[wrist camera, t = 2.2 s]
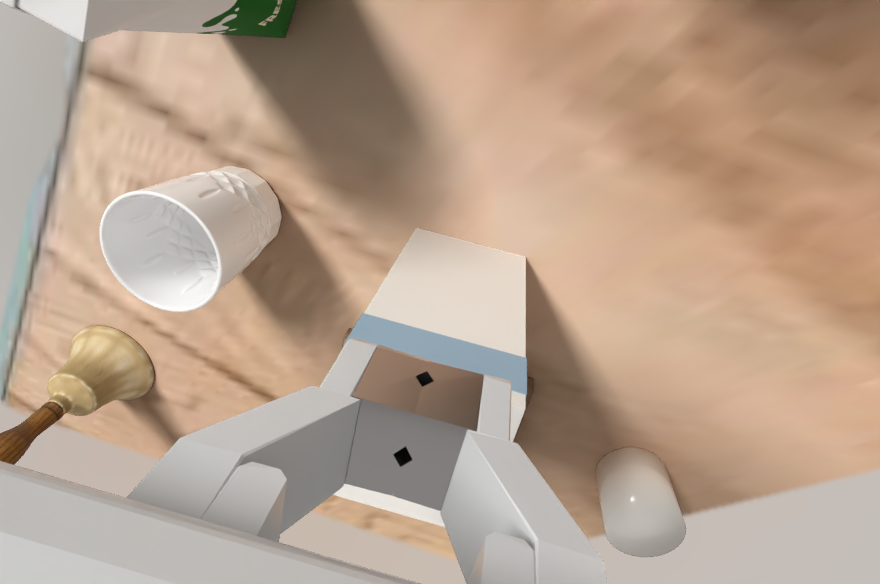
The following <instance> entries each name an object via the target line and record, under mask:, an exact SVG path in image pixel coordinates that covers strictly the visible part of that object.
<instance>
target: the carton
mask: <svg viewBox="0 0 880 584" xmlns="http://www.w3.org/2000/svg"><path fill="white" fill-rule="evenodd" d="M352 337H353V338H357V339H360V340H364V341H368V342H371V343H375V344H377V345H382V346H385V347H388V348H392V349H395V350H398V351H402V352H405V353H408V354H412V355H415V356H418V357H422V358H425V359H428V360H431V361H433V362H437V363H440V364H444V365H448V366H452V367H456V368H460V369H464V370H468V371H472V372H475V373H479V374H485V375H489V376H493V377H498V378H502V379H506V380H510V382H511V383H512V394H511V425H510V441H511V442H513V440H514V437H515V435H516V432H517V430H518V427H519V424H520V422H521V419H522V417H523V414H524V411H525V409H526V395H527V358H526V257H525V256H521V255H518V254H514V253H510V252H506V251H503V250H499V249H495V248H491V247H488V246H484V245H480V244H476V243H473V242H469V241H465V240H461V239H458V238H454V237H450V236H446V235H443V234H439V233H435V232H431V231H428V230H424V229H420V228H417V227H416V229H415V230H414V232H413V234H412V235H411V237H410V239H409V240H408V242H407V243H406V245H405V247H404V248H403V250H402V252H401V253H400V255H399V257H398V258H397V260H396V262H395V263H394V265H393V267H392V268H391V270H390V271H389V273H388V275H387V276H386V278H385V280H384V281H383V283H382V285H381V286H380V288H379V290H378V291H377V293H376V295H375V296H374V298H373V299H372V301H371V303H370V304H369V306H368V308H367V309H366V311H365V313H362V315H361V317H360V318H359V320H358V322H357V323H356V325H355V327H354V328H353V330H352V331H351V333H350V335H349V336H348V338H347V340H346V341H345V343H344V346H345V344H346V343H347V341H348V340H349V339H351V338H352ZM343 348H344V347H343ZM341 351H342V350H341ZM340 353H341V352H340ZM338 356H339V355H338ZM393 494H394V493H393ZM333 495H336V496H339V497H342V498H346V499H349V500H353V501H356V502H360V503H363V504H367V505H370V506H374V507H377V508H381V509H384V510H387V511H391V512H394V513H398V514H401V515H405V516H408V517H412V518H415V519H419V520H422V521H425V522H429V523H432V524H436V525H439V526H443V527H445V525H444V523H443V520H442V517H441V515H440V512H441V511H438V510H435V509H432V508H429V507H426V506H423V505H419V504H416V503H413V502H410V501H407V500H404V499H401V498H397V497H394V496H391V495H387V494H383V493H379V492H375V491H371V490H367V489H364V488H360V487H356V486H352V485H348V484H344V486H343V487H342V488H341V489H340V490H338V491H337V492H336V493H334V494H333Z"/></svg>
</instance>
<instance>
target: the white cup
mask: <svg viewBox="0 0 880 584" xmlns="http://www.w3.org/2000/svg"><path fill="white" fill-rule="evenodd" d="M281 219H282V216H281V211H280V206H279V201H278V198H277V196H276V195H275V193H274V192H273V191H272V189H271V188H270V186H269V185H268V183H267V182H266V181H265V180H264V179H262V178H261V177H259V176H258V175H256V174H255V173H253V172H252V171H251V170H249V169H244V168H239V167H234V166H226V167H223V168H220V169H217V170H214V171H209V172H199V173H196V174H192V175H187V176H184V177H180V178H176V179H172V180H169V181H166V182H163V183H160V184H157V185H153V186H150V187H146V188H143V189H140V190H136V191H133V192H129V193H126V194H124V195H121V196H120V197H118V198H116V199H115V200H114V201H113V202H112V203H111V204H110V205H109V206H108V207H107V209H106V210H105V212H104V214H103V216H102V219H101V224H100V243H101V248H102V252H103V255H104V257H105V260H106V262H107V264H108V266H109V268H110V269H111V271H112V273H113V274H114V275H115V277H116V278H117V279H118V281H119V282H120V283H121V284H122V285H123V286H124V287H125V288H126V289H127V290H128V291H129V292H130V293H132V294H133V295H134V296H135V297H137V298H138V299H140V300H141V301H143V302H145V303H147V304H149V305H151V306H153V307H156V308H158V309H162V310H165V311H171V312H188V311H192V310H196V309H198V308H200V307H202V306H204V305H206V304H207V303H208V302H209V301H210V300H211V299H213V298H214V297H215V296H216V295H217V294H218V293H219V292H220V291H221V290H222V289H223V288H224V287H226V286H227V285H228V284H229V283H230V282H231V281H232V280H233V279H234V278H236V277H237V276H238V275H239V274H240V273H241V272H242V271H243V270H244V269H245V268H246V267H247V266H248V265H249V264H250V263H251V262H252V261H253V260H254V259H255V258H256V257H257V256H258V255H259V254H260V252H261V251H262V250H263V249H264V248H265V247H266V246H267V245H268V244H269V243H270V242H271V241H272V240H273V239H274V238H275V237H276V236H277V235H278V231H279V227H280V223H281Z"/></svg>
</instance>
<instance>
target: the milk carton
mask: <svg viewBox="0 0 880 584" xmlns="http://www.w3.org/2000/svg"><path fill="white" fill-rule="evenodd" d="M296 1H297V0H0V2H1V3H3V4H5V5H7V6H9V7H11V8H14V9H16V10H18V11H22V12H24V13H27V14H29V15H32V16H35V17H37V18H38V19H40V20H42V21H44V22H46V23H48V24H50V25H52V26H54V27H55V28H57V29H59V30H61V31H63V32H65V33H66V34H68V35H70V36H72V37H74V38H76V39H78V40H80V41H82V42H85V41H88V40H91V39H94V38H97V37H100V36H103V35H106V34H109V33H112V32H116V31H119V30H127V31H150V32H176V33H201V34H226V35H244V36H264V37H280V38H285V36H286V33H287V30H288V27H289V23H290V20H291V17H292V14H293V10H294V7H295V4H296Z"/></svg>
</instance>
